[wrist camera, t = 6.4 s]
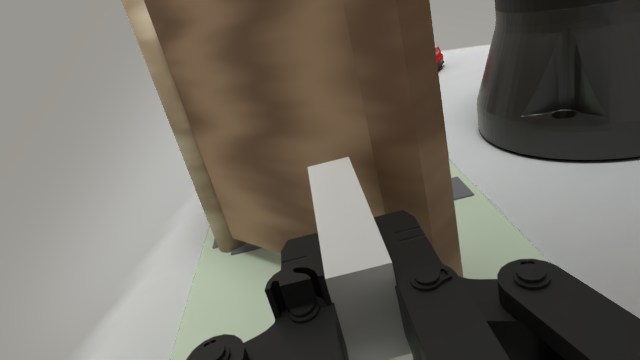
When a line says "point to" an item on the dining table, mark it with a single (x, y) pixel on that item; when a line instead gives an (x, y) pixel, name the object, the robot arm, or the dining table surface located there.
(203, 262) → the card
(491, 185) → the dining table surface
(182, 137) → the birch fence section
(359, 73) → the walnut panel
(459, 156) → the dining table surface
